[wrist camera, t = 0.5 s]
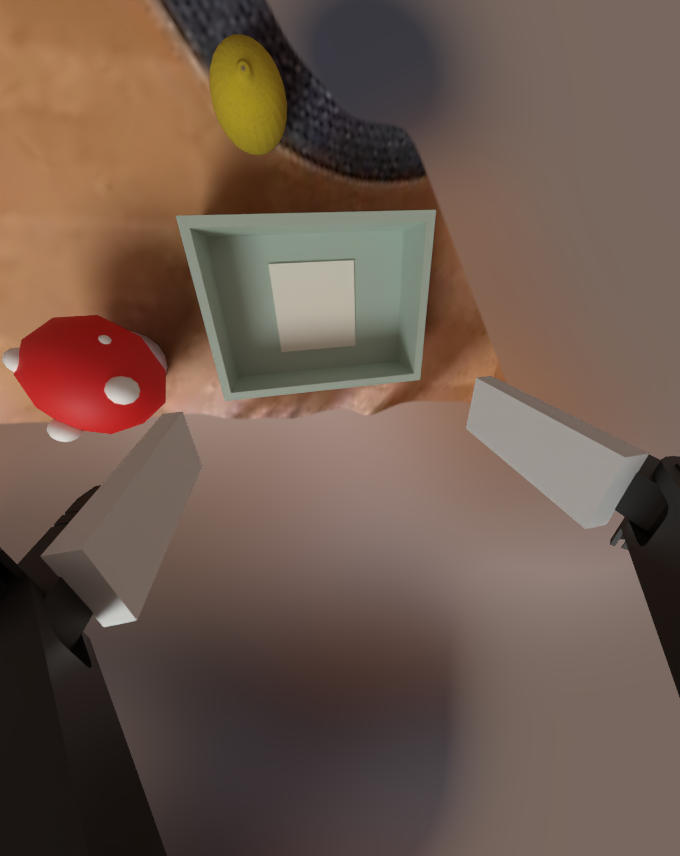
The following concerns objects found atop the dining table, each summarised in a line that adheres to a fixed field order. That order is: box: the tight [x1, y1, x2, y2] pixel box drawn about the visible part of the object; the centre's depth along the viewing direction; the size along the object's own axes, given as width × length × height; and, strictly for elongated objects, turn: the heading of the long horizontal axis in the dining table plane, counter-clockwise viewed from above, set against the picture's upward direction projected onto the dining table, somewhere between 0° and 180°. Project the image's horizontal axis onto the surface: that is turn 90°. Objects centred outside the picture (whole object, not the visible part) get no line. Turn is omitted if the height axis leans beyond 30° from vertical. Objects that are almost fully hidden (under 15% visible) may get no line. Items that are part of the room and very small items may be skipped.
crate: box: [176, 210, 436, 401], centre depth 30 cm, size 16×22×6 cm
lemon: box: [210, 35, 287, 155], centre depth 21 cm, size 6×6×8 cm
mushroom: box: [2, 315, 168, 442], centre depth 26 cm, size 11×11×12 cm
